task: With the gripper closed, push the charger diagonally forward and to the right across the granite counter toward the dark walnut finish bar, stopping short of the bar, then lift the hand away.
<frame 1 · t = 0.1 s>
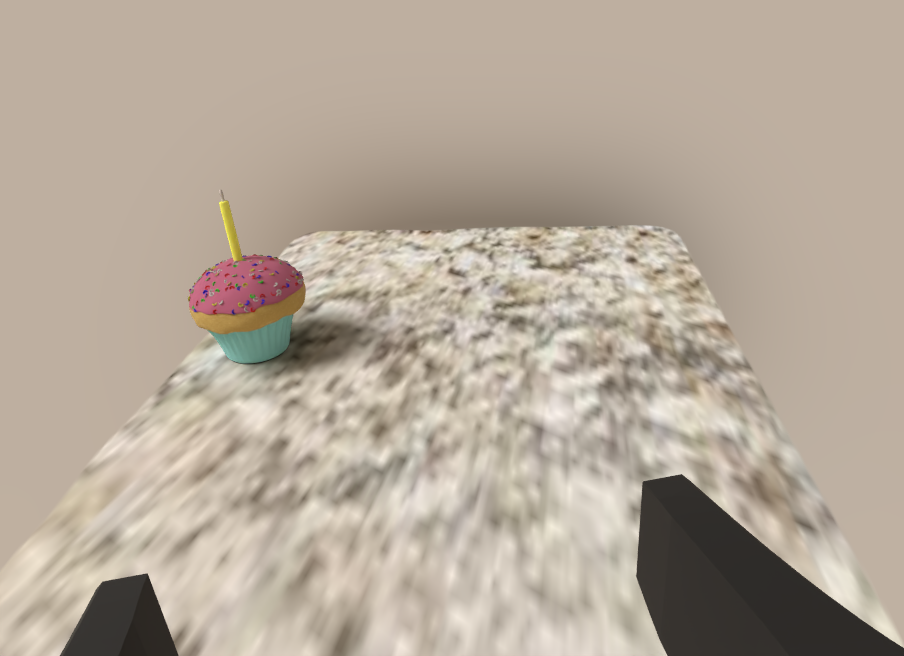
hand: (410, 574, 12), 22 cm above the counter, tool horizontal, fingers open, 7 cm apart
cupcake: (260, 350, 65), on the counter
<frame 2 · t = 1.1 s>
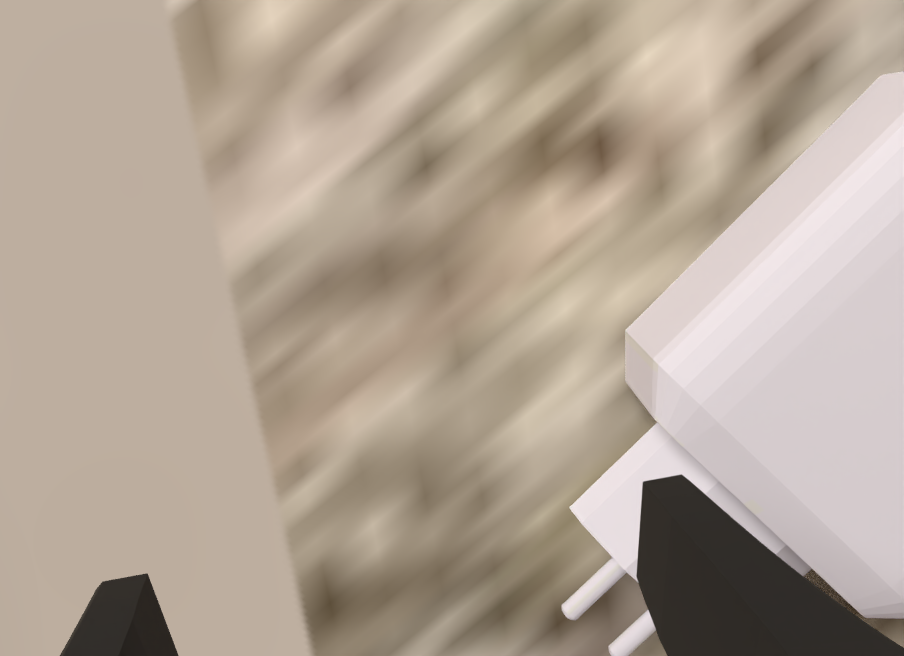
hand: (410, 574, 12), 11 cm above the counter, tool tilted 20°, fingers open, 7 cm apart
charger: (766, 401, 24), on the counter
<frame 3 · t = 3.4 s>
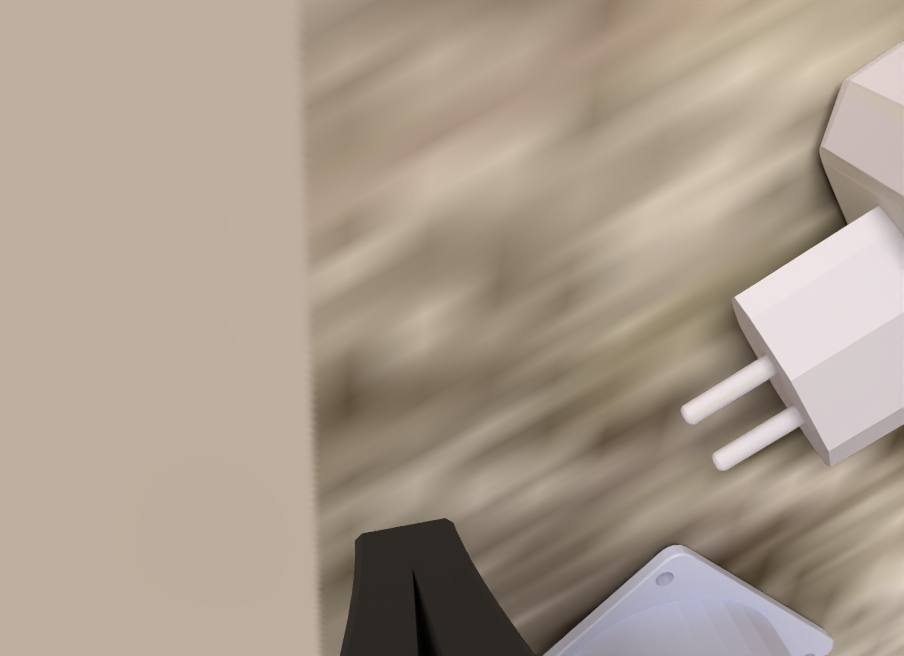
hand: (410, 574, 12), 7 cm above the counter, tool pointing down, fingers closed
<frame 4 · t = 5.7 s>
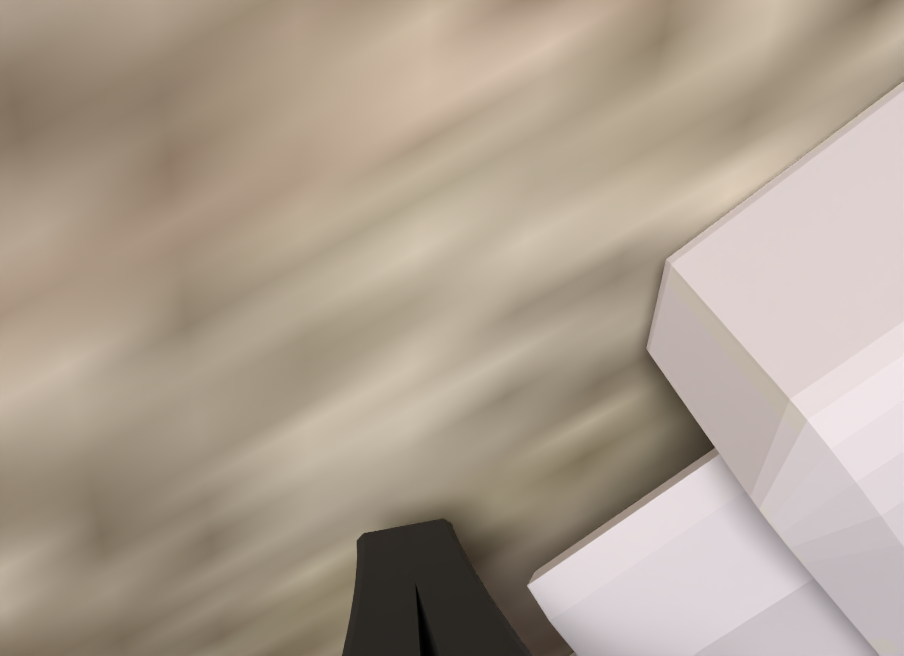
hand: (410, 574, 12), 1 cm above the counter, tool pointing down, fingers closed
charger: (840, 369, 14), on the counter, touching gripper
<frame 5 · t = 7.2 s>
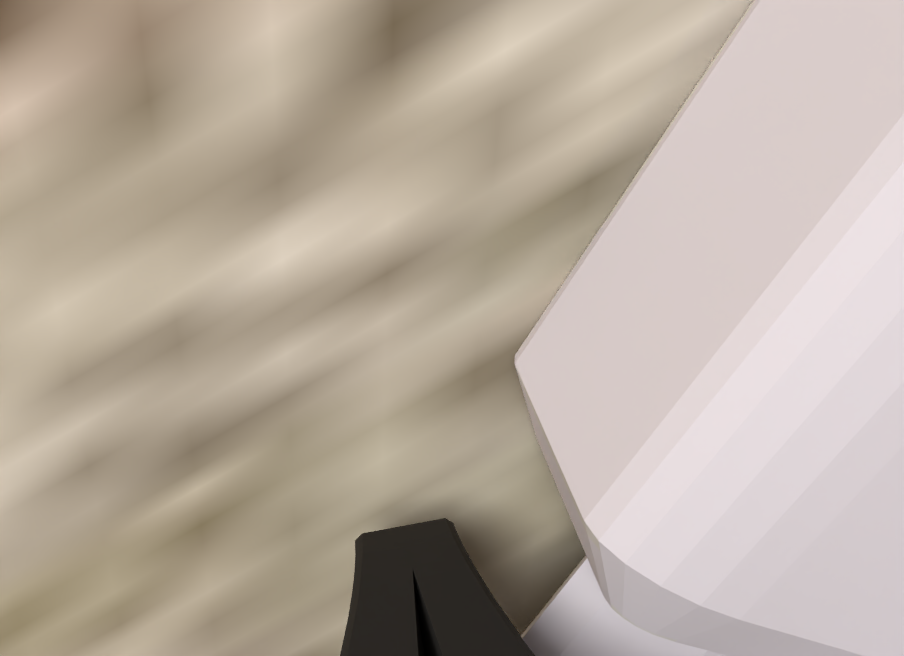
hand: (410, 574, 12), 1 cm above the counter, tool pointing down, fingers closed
charger: (773, 360, 14), on the counter
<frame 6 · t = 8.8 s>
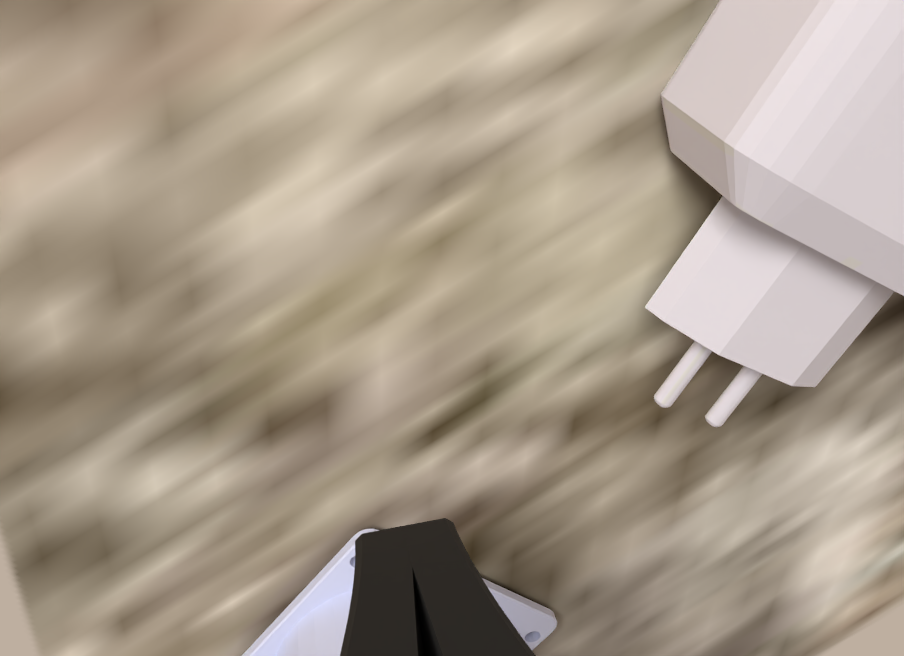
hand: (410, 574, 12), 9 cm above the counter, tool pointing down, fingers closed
charger: (818, 119, 21), on the counter
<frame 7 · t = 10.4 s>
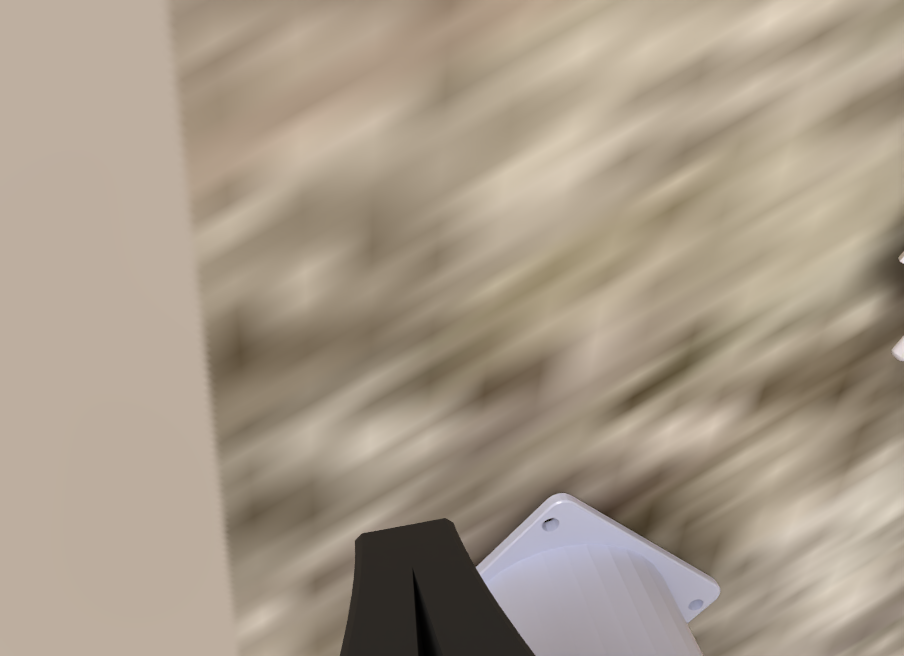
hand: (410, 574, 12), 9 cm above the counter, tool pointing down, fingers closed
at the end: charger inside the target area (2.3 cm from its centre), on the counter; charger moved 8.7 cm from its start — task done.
